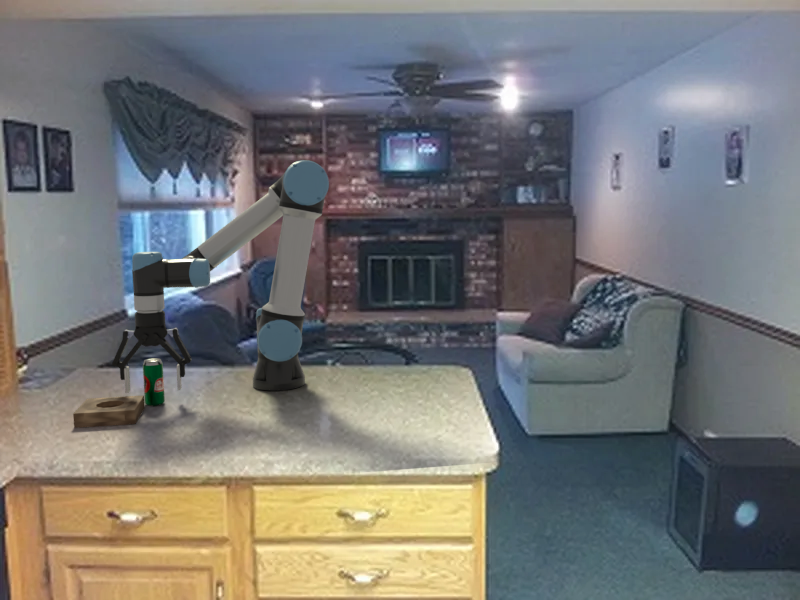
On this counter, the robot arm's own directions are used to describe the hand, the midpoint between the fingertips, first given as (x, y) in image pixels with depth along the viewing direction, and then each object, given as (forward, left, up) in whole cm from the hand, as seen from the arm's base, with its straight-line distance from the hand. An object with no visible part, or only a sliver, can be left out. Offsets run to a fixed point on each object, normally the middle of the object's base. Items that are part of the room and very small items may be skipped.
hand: (153, 390), depth 195 cm
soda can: (0, 0, -4) cm, 4 cm away
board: (+9, +11, -4) cm, 15 cm away
